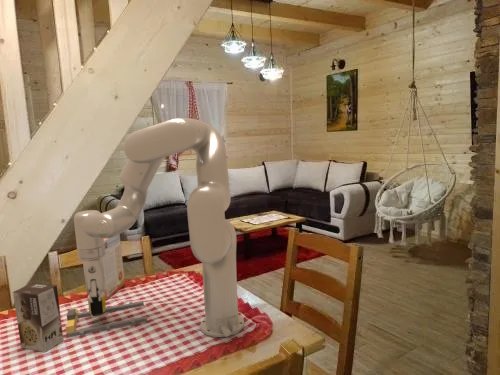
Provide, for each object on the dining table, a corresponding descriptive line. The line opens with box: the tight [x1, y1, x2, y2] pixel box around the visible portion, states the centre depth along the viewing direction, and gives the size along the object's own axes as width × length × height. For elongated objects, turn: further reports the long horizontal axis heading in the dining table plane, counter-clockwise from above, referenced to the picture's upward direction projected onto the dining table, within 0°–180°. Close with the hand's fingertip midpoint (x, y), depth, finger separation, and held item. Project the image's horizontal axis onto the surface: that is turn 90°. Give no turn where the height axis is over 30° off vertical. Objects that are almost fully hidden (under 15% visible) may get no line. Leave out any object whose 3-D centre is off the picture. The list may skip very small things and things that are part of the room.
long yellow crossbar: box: [65, 307, 79, 334], centre depth 110 cm, size 12×2×4 cm, turn 21°
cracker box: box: [102, 233, 126, 301], centre depth 133 cm, size 14×6×21 cm, turn 172°
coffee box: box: [12, 282, 64, 353], centre depth 100 cm, size 9×6×16 cm
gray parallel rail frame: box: [65, 300, 148, 339], centre depth 114 cm, size 15×22×1 cm
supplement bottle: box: [87, 289, 107, 319], centre depth 112 cm, size 5×5×8 cm
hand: (97, 309), depth 112 cm, fingers closed on supplement bottle, 4 cm apart
